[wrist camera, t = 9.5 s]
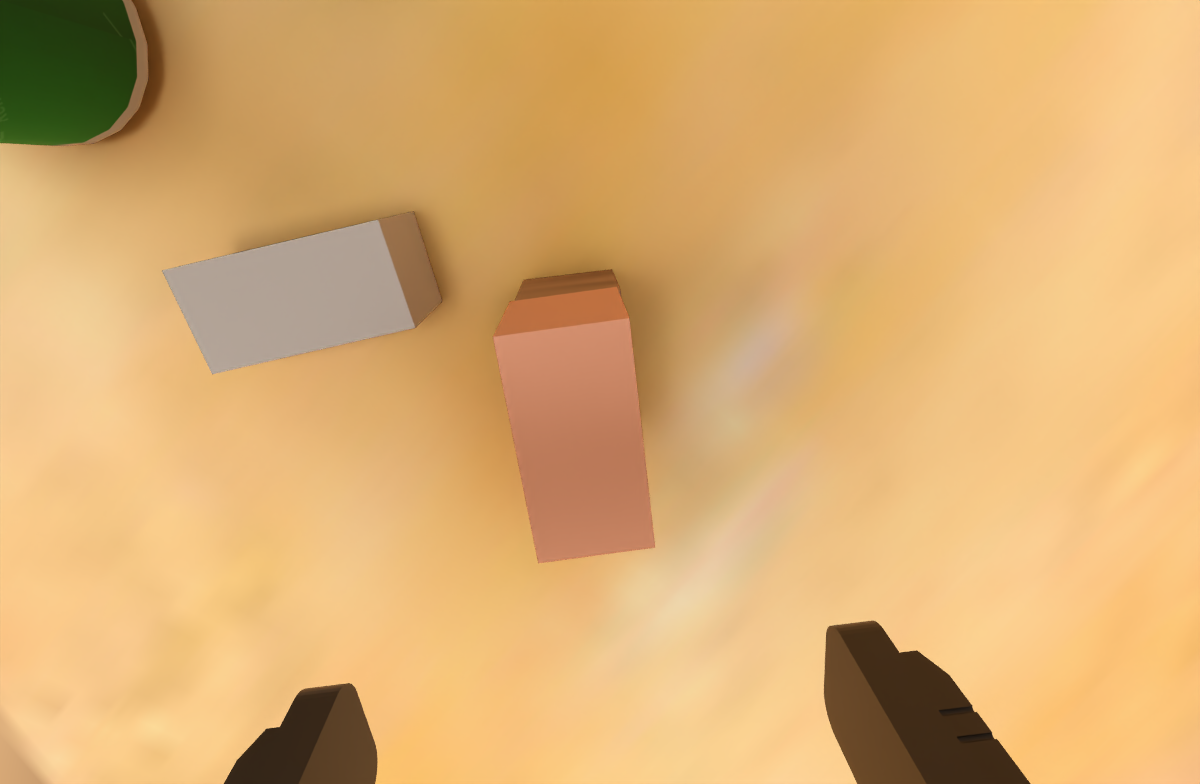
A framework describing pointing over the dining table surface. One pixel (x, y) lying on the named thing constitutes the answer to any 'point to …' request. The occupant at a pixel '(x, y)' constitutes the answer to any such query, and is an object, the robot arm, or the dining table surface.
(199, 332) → the slate brick
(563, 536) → the terracotta brick
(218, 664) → the dining table surface
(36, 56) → the soda can
